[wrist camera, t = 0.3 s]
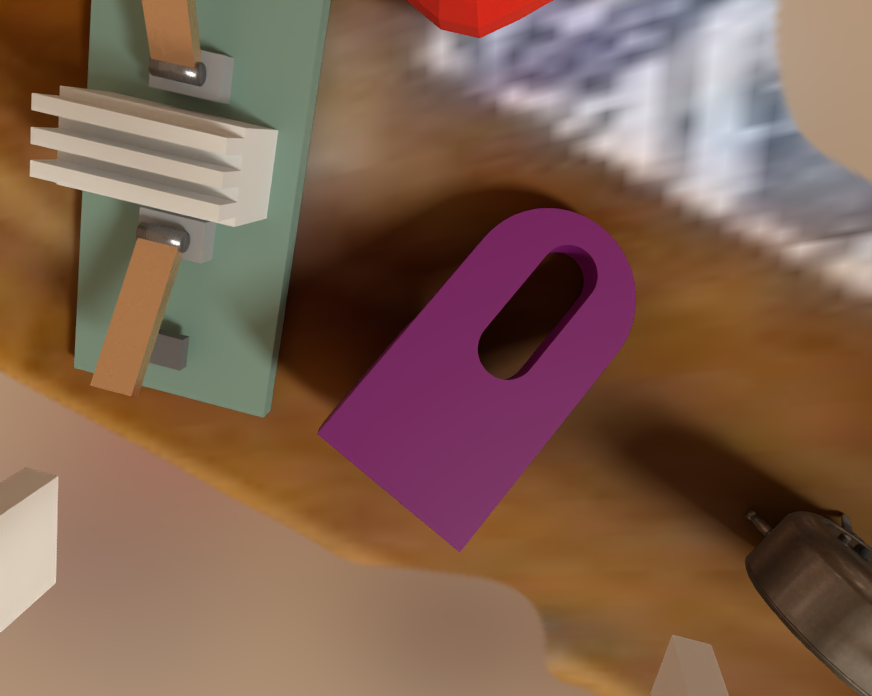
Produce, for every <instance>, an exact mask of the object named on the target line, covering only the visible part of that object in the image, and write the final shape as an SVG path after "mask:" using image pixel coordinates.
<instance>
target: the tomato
mask: <svg viewBox="0 0 872 696" xmlns="http://www.w3.org/2000/svg"><path fill="white" fill-rule="evenodd" d="M406 1H408V2H409V3H410V4H411V5H412V6H413V7H415V8H416V9H417V10H418V11H419V12H421V13H422V14H423V15H424V16H425V17H427V18H428V19H429V20H430V21H431V22H433V23H434V24H435V25H436V26H437V27H439V28H440V29H442V30H446V31H451V32H455V33H459V34H464V35H468V36H473V37H477V38H481V37H483V36H485V35H487V34H490V33H492V32H494V31H496V30H498V29H500V28H502V27H504V26H507V25H509V24H511V23H513V22H515V21H517V20H519V19H521V18H523V17H525V16H526V15H528V14H530V13H532V12H533V11H535V10H537V9H539V8H540V7H542V6H544V5H546V4H547V3H549V2H551V1H553V0H406Z"/></svg>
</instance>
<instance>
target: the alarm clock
mask: <svg viewBox="0 0 872 696" xmlns="http://www.w3.org/2000/svg"><path fill="white" fill-rule="evenodd" d="M746 518H747V519H749V520H751V521H752V522H753V523H754V525H755V526H756V528H757V529H758V530H759V531H760V532H761V533H762V534H763V535H764V536H765V538H764V539H763V540H762V542H761V543H760V544H759V545H758V546H757V547H756V548H755V549H754V550H753V551H752V552H751V553H750V554H749V555H748V556H747V557H746V559H745V566H746V570H747V573H748V576H749V578H750V580H751V581H752V583H753V585H754V587H755V588H756V590H757V591H758V593H759V594H760V595H761V597H762V598H763V599H764V601H765V602H766V603H767V604H768V606H769V607H770V608H771V609H772V611H773V612H774V613H775V614H776V615H777V616H778V617H779V619H780V620H781V621H782V622H783V623H784V624H785V625H786V627H787V628H788V629H789V630H790V631H791V632H792V633H793V634H794V635H795V636H796V637H797V638H798V639H799V640H800V641H801V642H802V643H803V644H804V645H805V647H806V648H807V649H809V650H810V651H811V652H812V653H813V654H814V655H815V656H816V657H817V658H818V659H819V660H820V661H822V662H823V663H824V664H825V665H826V666H827V667H828V668H829V669H830V670H831V671H832V672H833V673H834V674H836V675H837V676H838V677H839V678H840V679H841V680H842V681H843V682H844V683H846V684H847V685H848V686H849V687H850V688H851V689H853V690H854V691H855V692H856V693H858V694H859V695H860V696H872V548H871V547H870V546H868V545H867V544H865V543H864V541H863V540H862V539H860V538H859V537H858V536H857V535H856V534H855V533H853V530H852V526H851V522H850V518H849V517H848V516H847V515H845V514H843V515H842V516H841V521H842V527H841V526H839V525H838V524H836V523H834V522H833V521H831V520H829V519H827V518H825V517H823V516H820V515H818V514H815V513H812V512H808V511H798V512H793V513H789V514H787V515H786V516H785V518H784V519H783V520H782V521H781V522H780V523H779V524H778V525H777V526H776V527H775V528H773V527H771V526H770V525H769V524H768V523H767V522H765V521H764V520H762V519H760V518H759V517H758V514H757V512H755V511H754V510H748V512H747V513H746Z"/></svg>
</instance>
